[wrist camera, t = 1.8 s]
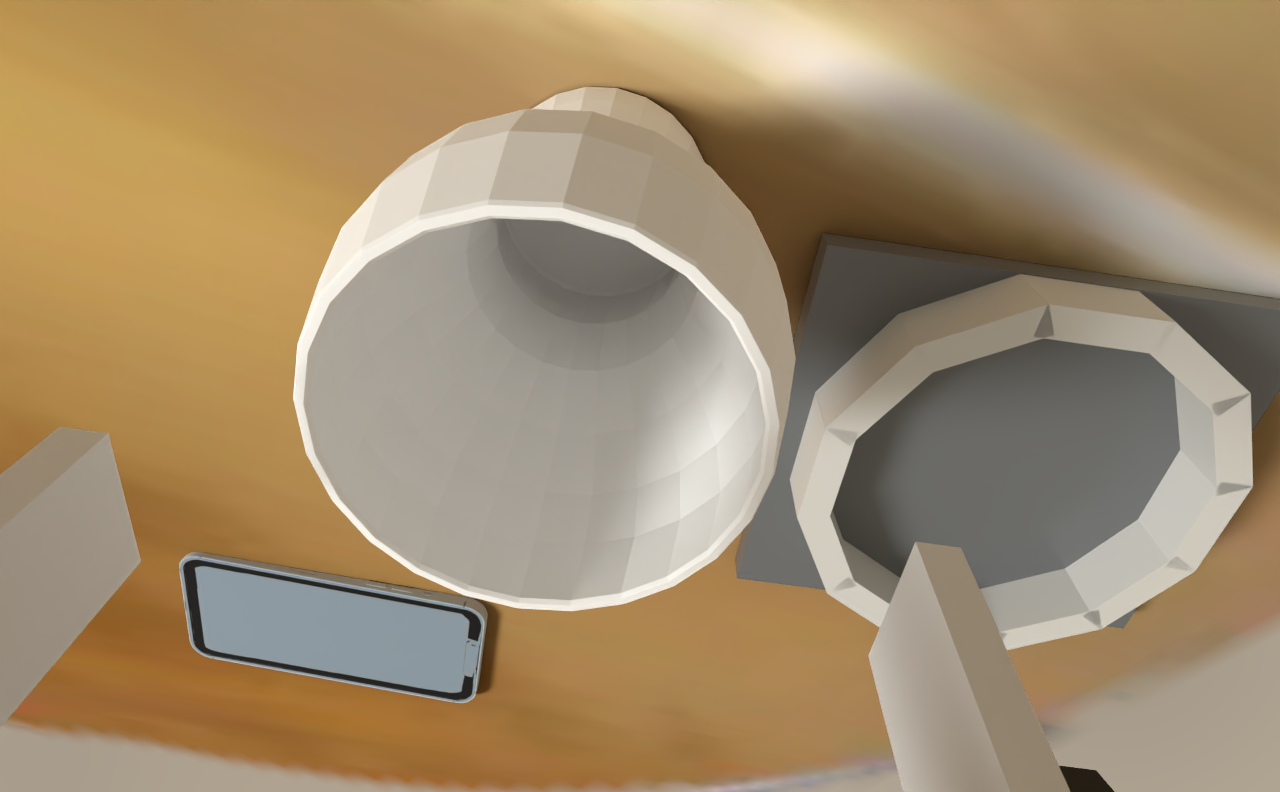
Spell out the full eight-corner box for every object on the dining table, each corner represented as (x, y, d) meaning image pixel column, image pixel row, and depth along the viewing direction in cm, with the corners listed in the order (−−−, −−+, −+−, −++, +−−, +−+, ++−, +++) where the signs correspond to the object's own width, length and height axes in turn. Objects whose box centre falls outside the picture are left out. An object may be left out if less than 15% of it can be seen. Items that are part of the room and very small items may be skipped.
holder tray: (822, 232, 29) (840, 273, 25) (1304, 302, 29) (1380, 350, 26) (735, 559, 37) (740, 620, 34) (1111, 608, 37) (1150, 673, 34)
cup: (815, 181, 28) (931, 415, 15) (625, 381, 32) (588, 693, 19) (570, -39, 24) (448, 18, 12) (398, 218, 29) (174, 462, 16)
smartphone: (176, 551, 38) (487, 609, 39) (187, 538, 39) (491, 595, 39) (191, 655, 42) (474, 706, 42) (201, 641, 42) (478, 691, 43)
